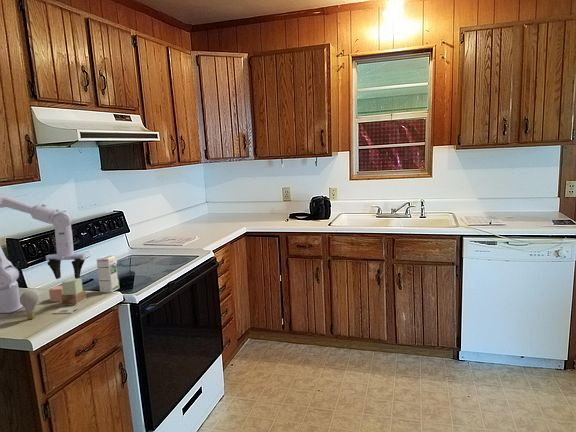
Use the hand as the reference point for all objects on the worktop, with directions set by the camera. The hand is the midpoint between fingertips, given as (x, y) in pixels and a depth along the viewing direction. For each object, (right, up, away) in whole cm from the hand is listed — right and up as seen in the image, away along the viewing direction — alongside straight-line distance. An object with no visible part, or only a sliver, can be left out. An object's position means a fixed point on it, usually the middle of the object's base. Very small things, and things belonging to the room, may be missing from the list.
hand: (67, 278), depth 161 cm
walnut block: (+2, -10, +2) cm, 10 cm away
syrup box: (+9, -8, +16) cm, 20 cm away
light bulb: (-5, -12, -15) cm, 20 cm away
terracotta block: (-6, -10, +6) cm, 13 cm away
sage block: (+1, -6, +1) cm, 6 cm away
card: (+4, -11, -8) cm, 14 cm away
